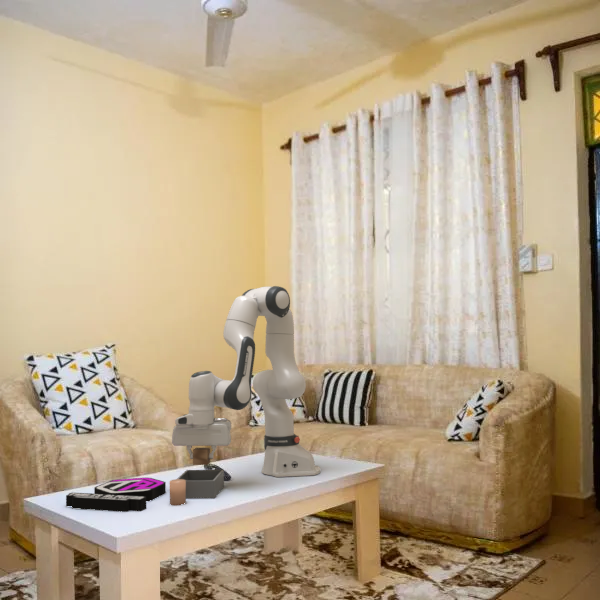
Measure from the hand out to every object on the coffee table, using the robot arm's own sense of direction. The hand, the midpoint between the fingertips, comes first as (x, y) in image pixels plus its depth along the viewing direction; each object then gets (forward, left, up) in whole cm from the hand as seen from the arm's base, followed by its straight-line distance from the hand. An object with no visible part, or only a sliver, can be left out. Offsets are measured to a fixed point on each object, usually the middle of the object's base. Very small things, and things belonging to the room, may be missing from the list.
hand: (201, 458), depth 221 cm
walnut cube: (0, 0, -2) cm, 2 cm away
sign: (+23, +11, -11) cm, 28 cm away
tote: (0, +4, -10) cm, 11 cm away
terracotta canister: (+4, +18, -10) cm, 21 cm away
